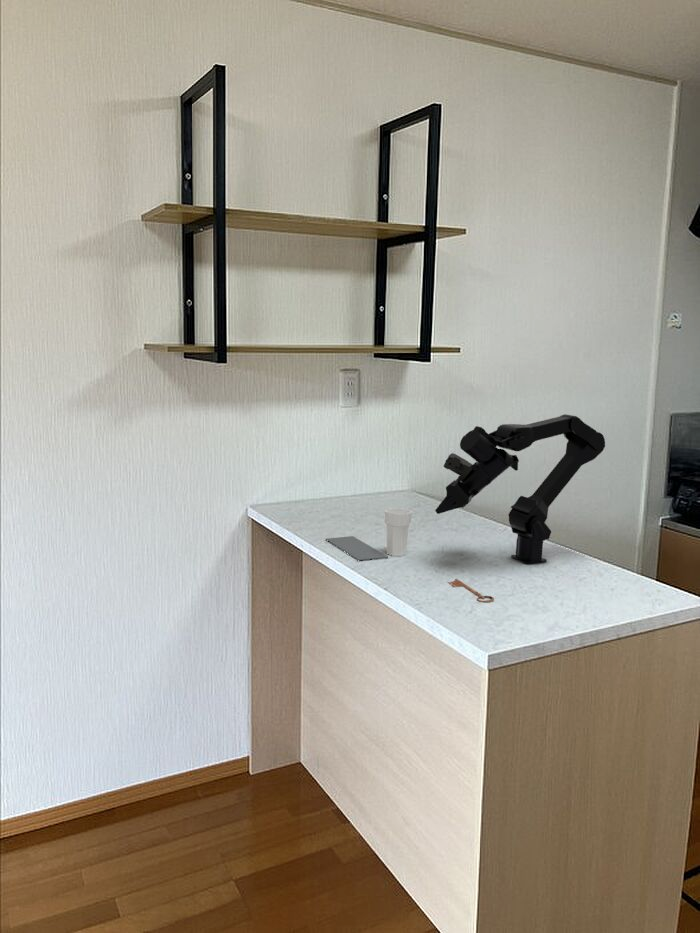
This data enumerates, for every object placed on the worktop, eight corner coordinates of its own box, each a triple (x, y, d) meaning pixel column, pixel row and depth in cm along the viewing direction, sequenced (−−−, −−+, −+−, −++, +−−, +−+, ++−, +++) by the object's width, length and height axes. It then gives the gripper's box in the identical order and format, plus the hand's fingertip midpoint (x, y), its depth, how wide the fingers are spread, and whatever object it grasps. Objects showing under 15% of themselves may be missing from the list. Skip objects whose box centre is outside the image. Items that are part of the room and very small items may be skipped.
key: (441, 585, 188) (472, 607, 174) (440, 581, 188) (472, 602, 174) (463, 580, 190) (496, 602, 176) (463, 577, 190) (496, 598, 176)
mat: (387, 558, 205) (388, 556, 205) (358, 561, 201) (358, 559, 201) (352, 537, 222) (352, 536, 222) (325, 540, 219) (325, 538, 219)
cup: (413, 552, 211) (415, 510, 209) (403, 558, 205) (405, 515, 203) (389, 548, 213) (391, 506, 211) (379, 554, 207) (380, 511, 205)
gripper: (473, 438, 207) (428, 477, 213) (457, 449, 190) (408, 491, 196) (502, 472, 206) (456, 510, 212) (489, 486, 189) (439, 527, 194)
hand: (439, 509), depth 203 cm, fingers open, 7 cm apart
